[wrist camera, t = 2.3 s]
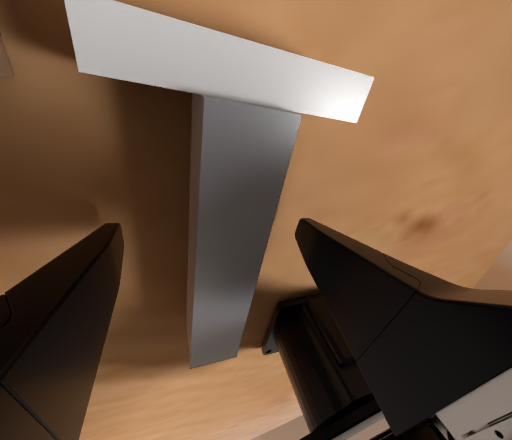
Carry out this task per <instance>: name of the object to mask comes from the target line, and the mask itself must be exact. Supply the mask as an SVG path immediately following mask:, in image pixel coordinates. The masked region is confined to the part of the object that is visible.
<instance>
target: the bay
mask: <svg viewBox="0 0 512 440" xmlns="http://www.w3.org/2000/svg"><path fill="white" fill-rule="evenodd" d="M0 77H14V73H13V70H12V68H11V65H10V62H9V59H8V56H7V53H6V50H5V47H4V44H3V41H2V38H1V35H0Z"/></svg>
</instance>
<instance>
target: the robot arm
mask: <svg viewBox="0 0 512 440" xmlns="http://www.w3.org/2000/svg"><path fill="white" fill-rule="evenodd" d="M295 238H296V241H297V243H298V246H299V248H300V251H301V254H302V256H303V259H304V261H305V263H306V266H307V268H308V270H309V272H310V274H311V276H312V277H313V279H314V281H315V283H316V285H317V287H318V289H319V291H320V293H321V295H315V296H310V297H304V298H299V299H293V300H287V301H283V302H281V303H279V304H278V305H277V307H276V310H275V312H274V315H273V318H272V321H271V323H270V326H269V329H268V332H267V334H266V337H265V340H264V342H263V345H262V348H261V349H262V353H263V355H268V354H272V353H275V352H279V353H280V356H281V359H282V361H283V364H284V366H285V369H286V371H287V374H288V377H289V379H290V382H291V384H292V387H293V390H294V392H295V395H296V397H297V400H298V403H299V405H300V408H301V410H302V413H303V416H304V418H305V421H306V423H307V426H308V429H309V431H310V434H308V435H307V436H305V437H303V438H301V439H300V440H346V439H348V438H350V437H351V436H353V435H355V434H357V433H358V432H360V431H362V430H364V429H366V428H367V427H369V426H371V425H372V424H374V423H376V422H378V421H379V420H381V419H383V418H385V419H386V421H387V422H388V424H389V426H390V428H389V429H387V430H385V431H383V432H382V433H380V434H378V435H376V436H375V437H373V438H371V439H369V440H512V291H506V290H505V291H504V290H479V289H470V288H466V287H462V286H458V285H455V284H453V283H450V282H448V281H445V280H443V279H441V278H438V277H436V276H434V275H431V274H429V273H427V272H424V271H422V270H419V269H417V268H415V267H413V266H410V265H408V264H406V263H403V262H401V261H399V260H397V259H395V258H393V257H390V256H388V255H386V254H384V253H381V252H380V251H378V250H375V249H373V248H371V247H369V246H367V245H365V244H363V243H361V242H359V241H356V240H354V239H352V238H350V237H348V236H346V235H344V234H342V233H340V232H337V231H335V230H333V229H331V228H329V227H327V226H325V225H323V224H321V223H318V222H316V221H314V220H312V219H310V218H301V219H300V220H299V223H298V225H297V228H296V231H295ZM123 253H124V240H123V234H122V229H121V225H120V224H119V223H106V224H104V225H103V226H101V227H100V228H98V229H97V230H95V231H94V232H92V233H91V234H89V235H88V236H87V237H85V238H84V239H82V240H81V241H79V242H78V243H76V244H75V245H73V246H72V247H71V248H69V249H68V250H66V251H65V252H63V253H62V254H60V255H59V256H57V257H56V258H55V259H53V260H52V261H50V262H49V263H47V264H46V265H44V266H43V267H41V268H40V269H39V270H37V271H36V272H34V273H33V274H31V275H30V276H28V277H27V278H25V279H24V280H23V281H21V282H20V283H18V284H17V285H15V286H14V287H12V288H11V289H9V290H8V291H7V292H5V295H1V296H0V440H79V437H80V433H81V429H82V425H83V422H84V418H85V414H86V410H87V407H88V403H89V399H90V395H91V392H92V388H93V384H94V380H95V377H96V373H97V369H98V365H99V361H100V358H101V354H102V350H103V346H104V343H105V339H106V335H107V331H108V328H109V324H110V320H111V316H112V313H113V309H114V305H115V301H116V298H117V294H118V290H119V285H120V278H121V270H122V261H123Z"/></svg>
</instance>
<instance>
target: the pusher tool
mask: <svg viewBox="0 0 512 440" xmlns="http://www.w3.org/2000/svg"><path fill="white" fill-rule="evenodd" d="M64 2H65V7H66V12H67V17H68V22H69V27H70V31H71V36H72V41H73V46H74V51H75V56H76V61H77V66H78V71H79V72H82V73H87V74H93V75H98V76H104V77H109V78H114V79H120V80H125V81H131V82H136V83H142V84H147V85H152V86H158V87H163V88H169V89H174V90H180V91H185V92H190V93H192V123H191V161H190V199H189V237H188V274H187V312H186V319H187V333H188V347H189V361H190V369H192V368H196V367H200V366H204V365H208V364H212V363H215V362H219V361H223V360H227V359H231V358H235V357H237V353H238V350H239V346H240V342H241V339H242V335H243V331H244V328H245V324H246V320H247V317H248V313H249V309H250V306H251V302H252V298H253V294H254V291H255V287H256V283H257V280H258V276H259V272H260V269H261V265H262V261H263V258H264V254H265V250H266V247H267V243H268V239H269V236H270V232H271V228H272V224H273V221H274V217H275V213H276V210H277V206H278V202H279V199H280V195H281V191H282V188H283V184H284V180H285V177H286V173H287V169H288V165H289V162H290V158H291V154H292V151H293V147H294V143H295V140H296V136H297V132H298V129H299V125H300V121H301V118H302V115H301V114H298V113H295V112H299V113H305V114H310V115H315V116H321V117H326V118H332V119H337V120H343V121H348V122H353V123H357V120H358V118H359V115H360V113H361V110H362V108H363V105H364V103H365V100H366V98H367V95H368V93H369V90H370V88H371V85H372V83H373V80H374V78H375V77H371V76H368V75H365V74H361V73H358V72H354V71H351V70H348V69H344V68H341V67H337V66H334V65H331V64H327V63H324V62H321V61H317V60H314V59H310V58H307V57H304V56H300V55H297V54H294V53H290V52H287V51H283V50H280V49H277V48H273V47H270V46H266V45H263V44H260V43H256V42H253V41H250V40H246V39H243V38H239V37H236V36H233V35H229V34H226V33H223V32H219V31H216V30H212V29H209V28H206V27H202V26H199V25H195V24H192V23H189V22H185V21H182V20H179V19H175V18H172V17H168V16H165V15H162V14H158V13H155V12H151V11H148V10H145V9H141V8H138V7H135V6H131V5H128V4H124V3H121V2H118V1H114V0H64ZM293 111H294V112H293Z"/></svg>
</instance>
